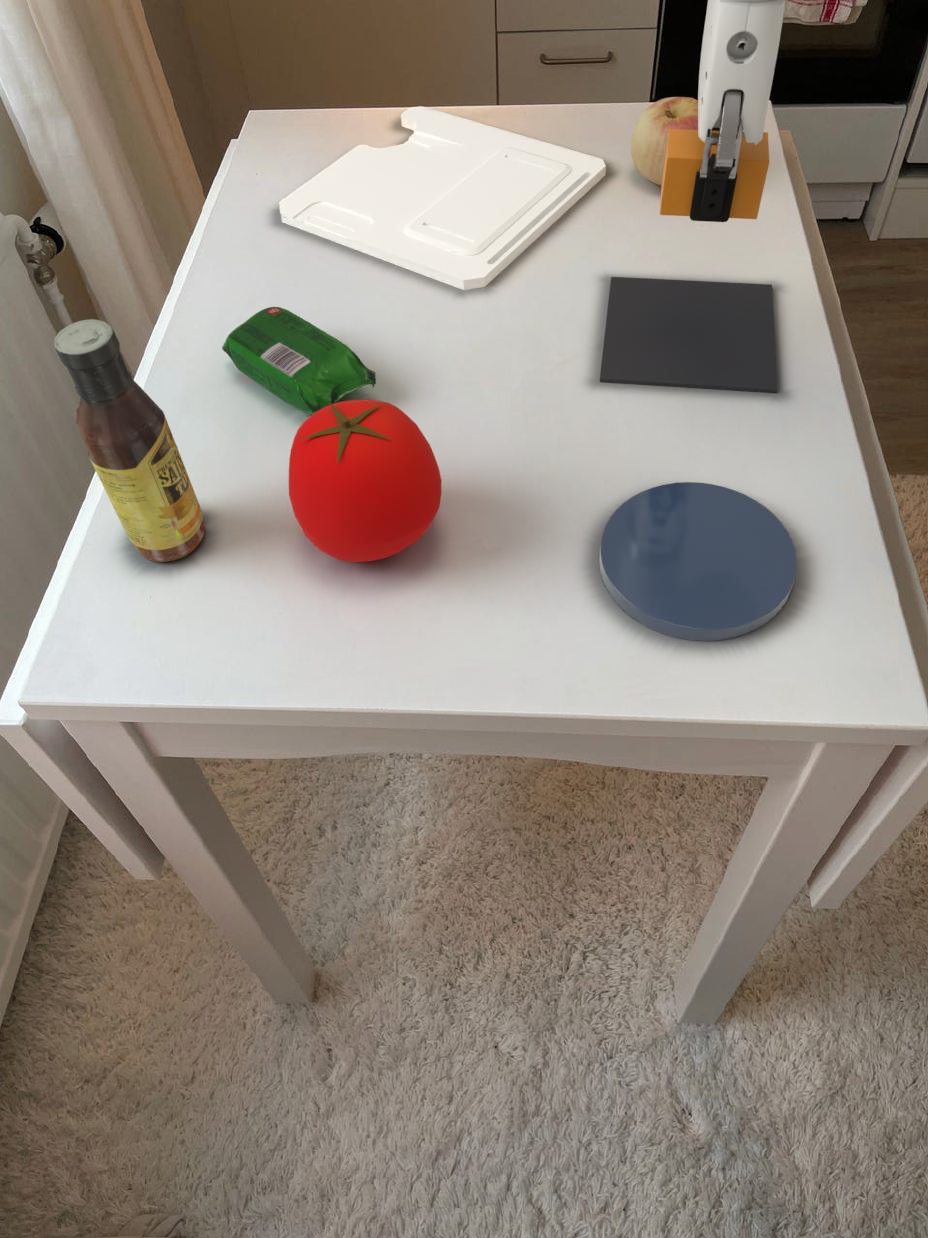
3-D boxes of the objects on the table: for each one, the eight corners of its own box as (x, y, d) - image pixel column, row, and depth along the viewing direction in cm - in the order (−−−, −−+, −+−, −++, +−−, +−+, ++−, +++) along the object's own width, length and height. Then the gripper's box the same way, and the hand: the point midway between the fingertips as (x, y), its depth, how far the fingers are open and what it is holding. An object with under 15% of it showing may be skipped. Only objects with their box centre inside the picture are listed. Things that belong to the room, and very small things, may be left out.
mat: (771, 287, 96) (771, 284, 95) (776, 393, 87) (777, 389, 86) (611, 279, 98) (611, 276, 98) (599, 381, 89) (599, 378, 88)
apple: (704, 158, 111) (716, 86, 104) (706, 200, 106) (718, 127, 99) (629, 157, 112) (635, 85, 106) (626, 198, 107) (633, 126, 100)
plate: (788, 501, 79) (792, 489, 77) (797, 650, 70) (802, 639, 69) (605, 487, 81) (607, 475, 79) (592, 630, 72) (593, 619, 71)
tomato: (271, 542, 79) (235, 427, 69) (369, 463, 84) (348, 345, 74) (379, 617, 74) (356, 505, 64) (476, 528, 79) (470, 411, 68)
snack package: (327, 441, 86) (317, 396, 82) (220, 367, 92) (206, 322, 88) (384, 401, 89) (378, 356, 84) (276, 333, 95) (266, 287, 91)
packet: (755, 189, 82) (768, 131, 78) (756, 219, 80) (769, 161, 76) (661, 185, 83) (669, 128, 79) (659, 214, 81) (667, 157, 76)
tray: (271, 218, 108) (269, 205, 107) (417, 111, 121) (416, 99, 120) (476, 294, 98) (475, 281, 96) (611, 169, 111) (612, 156, 109)
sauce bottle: (209, 559, 78) (128, 363, 62) (132, 571, 78) (31, 377, 62) (208, 502, 82) (132, 303, 66) (135, 513, 82) (40, 316, 66)
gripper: (814, 10, 61) (756, 262, 76) (801, -90, 71) (751, 151, 86) (695, 8, 62) (660, 258, 77) (698, -91, 72) (667, 148, 87)
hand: (709, 199), depth 81 cm, fingers closed on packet, 4 cm apart
